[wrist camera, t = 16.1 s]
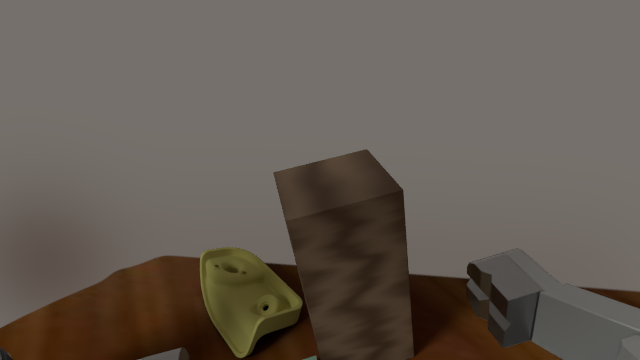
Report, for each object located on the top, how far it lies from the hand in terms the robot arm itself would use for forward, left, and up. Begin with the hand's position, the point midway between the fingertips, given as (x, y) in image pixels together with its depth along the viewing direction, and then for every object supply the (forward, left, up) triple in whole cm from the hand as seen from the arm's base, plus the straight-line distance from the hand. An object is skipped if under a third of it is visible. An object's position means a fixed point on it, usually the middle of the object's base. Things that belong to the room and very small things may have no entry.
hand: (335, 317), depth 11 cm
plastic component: (-9, +41, -38) cm, 57 cm away
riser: (+5, +29, -38) cm, 48 cm away
